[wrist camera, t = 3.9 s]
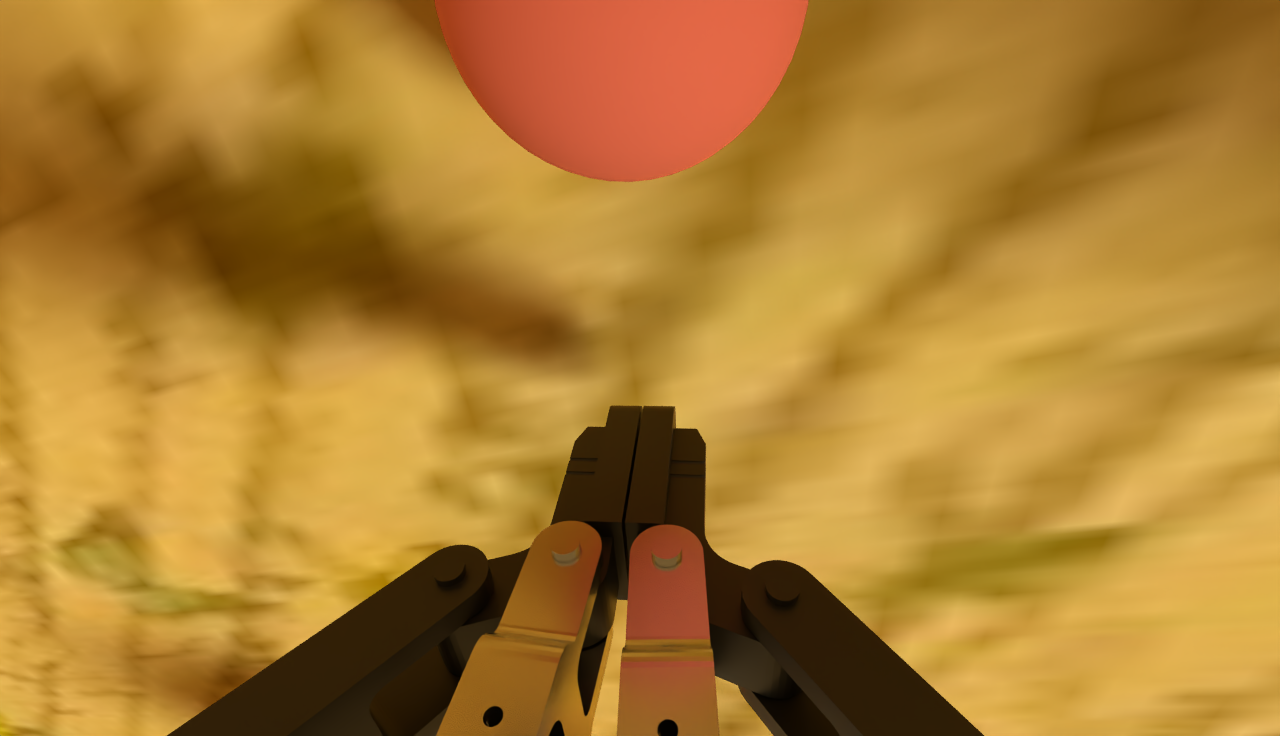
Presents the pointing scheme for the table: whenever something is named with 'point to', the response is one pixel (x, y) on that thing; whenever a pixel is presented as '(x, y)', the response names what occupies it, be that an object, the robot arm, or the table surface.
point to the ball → (622, 75)
